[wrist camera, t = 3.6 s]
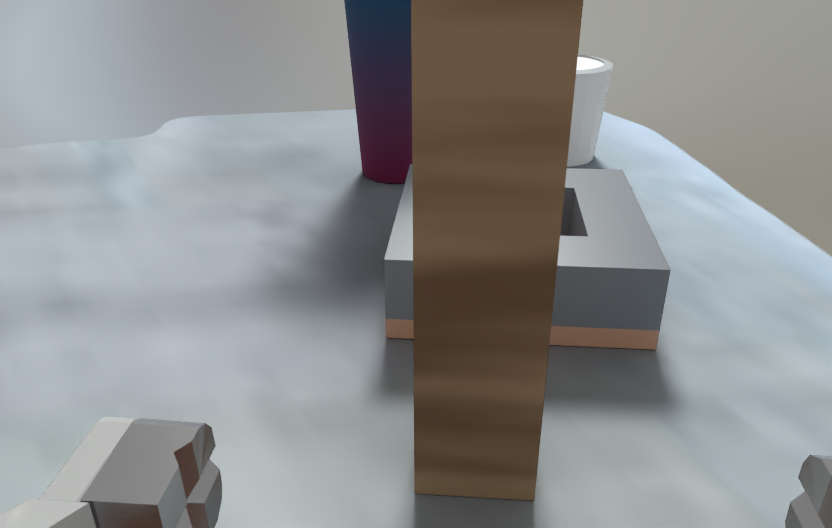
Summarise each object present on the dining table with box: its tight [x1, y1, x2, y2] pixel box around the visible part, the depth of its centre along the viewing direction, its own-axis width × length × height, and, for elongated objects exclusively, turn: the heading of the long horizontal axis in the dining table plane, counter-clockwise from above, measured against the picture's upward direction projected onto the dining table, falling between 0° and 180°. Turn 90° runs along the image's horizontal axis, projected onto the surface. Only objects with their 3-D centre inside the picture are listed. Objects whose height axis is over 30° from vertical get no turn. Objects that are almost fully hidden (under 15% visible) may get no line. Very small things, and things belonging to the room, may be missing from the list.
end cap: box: [384, 164, 670, 350], centre depth 37 cm, size 12×12×4 cm
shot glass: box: [567, 55, 613, 167], centre depth 53 cm, size 7×7×7 cm
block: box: [411, 0, 583, 501], centre depth 22 cm, size 4×4×18 cm
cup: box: [345, 0, 412, 184], centre depth 48 cm, size 7×7×15 cm
